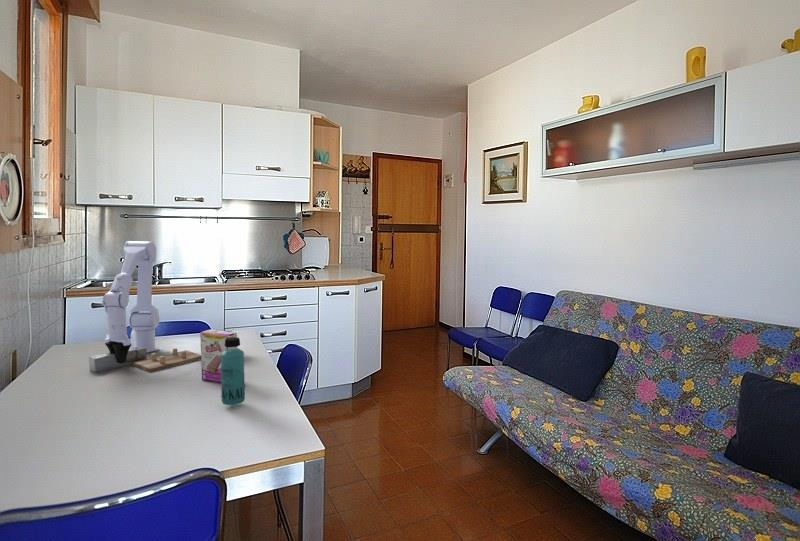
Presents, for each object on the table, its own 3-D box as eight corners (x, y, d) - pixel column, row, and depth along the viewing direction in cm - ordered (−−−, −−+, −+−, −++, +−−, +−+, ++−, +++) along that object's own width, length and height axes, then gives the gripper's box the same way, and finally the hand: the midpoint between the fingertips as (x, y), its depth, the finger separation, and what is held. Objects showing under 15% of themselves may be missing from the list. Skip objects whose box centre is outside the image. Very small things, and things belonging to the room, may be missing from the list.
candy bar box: (200, 380, 154) (199, 332, 152) (211, 376, 158) (210, 328, 157) (228, 385, 150) (227, 335, 148) (238, 380, 155) (237, 331, 153)
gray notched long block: (95, 373, 160) (94, 358, 159) (89, 370, 162) (88, 356, 162) (147, 361, 174) (146, 348, 173) (141, 358, 176) (140, 346, 176)
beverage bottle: (225, 401, 136) (223, 335, 134) (248, 401, 137) (246, 335, 135) (218, 410, 130) (216, 341, 128) (242, 410, 130) (241, 340, 128)
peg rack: (133, 365, 168) (132, 355, 168) (186, 353, 184) (185, 344, 184) (149, 372, 161) (149, 362, 161) (203, 358, 177) (202, 349, 177)
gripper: (95, 323, 167) (98, 360, 169) (114, 329, 159) (116, 368, 160) (117, 320, 173) (118, 356, 174) (135, 326, 165) (137, 363, 166)
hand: (119, 361), depth 168 cm, fingers open, 4 cm apart
